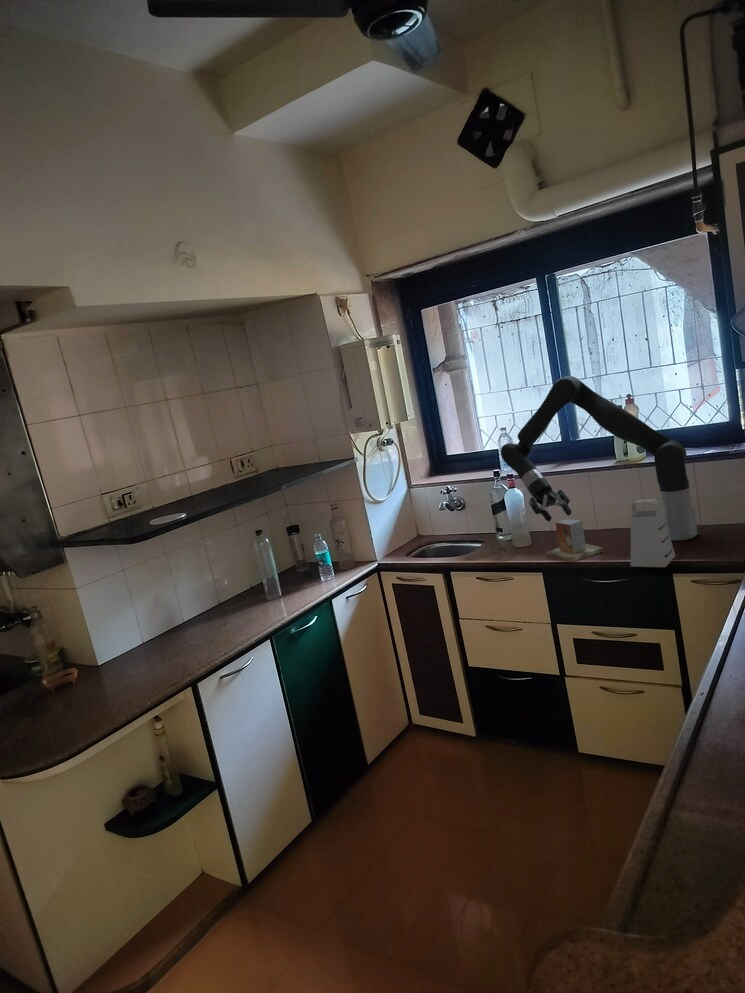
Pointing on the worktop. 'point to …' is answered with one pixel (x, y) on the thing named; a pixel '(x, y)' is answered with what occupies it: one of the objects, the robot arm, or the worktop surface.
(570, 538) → the small box
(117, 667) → the worktop surface
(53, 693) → the worktop surface
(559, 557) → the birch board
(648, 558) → the grater
